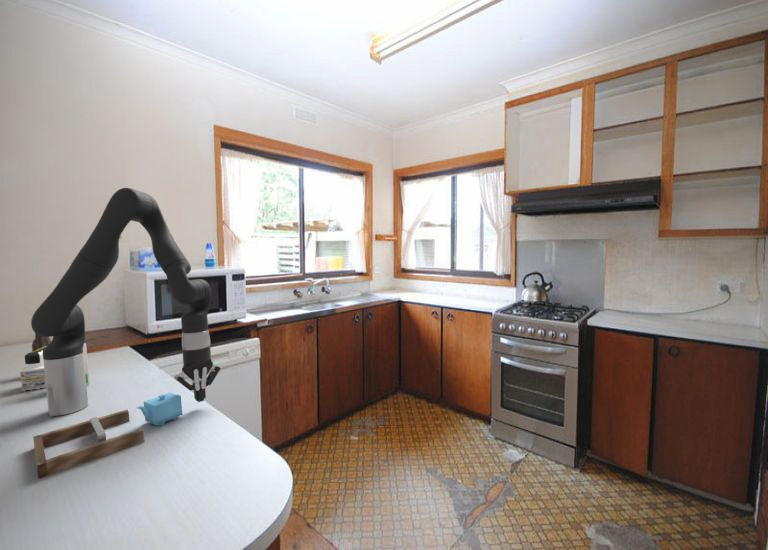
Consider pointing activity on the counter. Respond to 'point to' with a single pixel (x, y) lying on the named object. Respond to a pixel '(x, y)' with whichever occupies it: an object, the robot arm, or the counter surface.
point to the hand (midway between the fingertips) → (200, 400)
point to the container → (33, 371)
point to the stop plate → (97, 430)
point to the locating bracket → (87, 452)
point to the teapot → (162, 408)
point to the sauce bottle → (40, 343)
